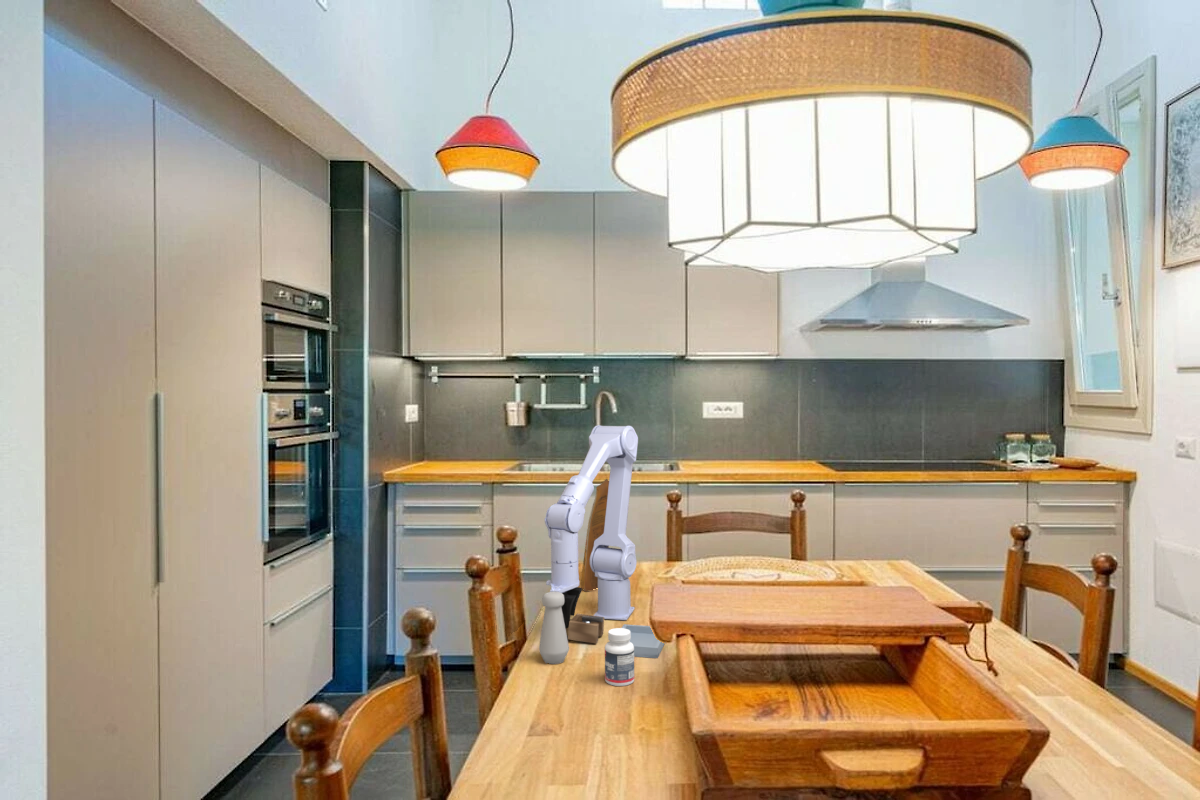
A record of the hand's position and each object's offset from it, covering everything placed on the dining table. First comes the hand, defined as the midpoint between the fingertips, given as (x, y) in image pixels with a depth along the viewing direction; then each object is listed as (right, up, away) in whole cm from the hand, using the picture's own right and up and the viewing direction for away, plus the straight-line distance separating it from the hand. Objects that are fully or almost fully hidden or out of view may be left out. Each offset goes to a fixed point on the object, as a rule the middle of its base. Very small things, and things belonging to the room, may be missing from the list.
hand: (565, 625), depth 152 cm
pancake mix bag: (+7, -3, +44) cm, 44 cm away
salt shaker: (-2, -3, -13) cm, 14 cm away
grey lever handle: (+6, -3, -1) cm, 6 cm away
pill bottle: (+11, -3, -23) cm, 26 cm away
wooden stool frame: (+3, -2, -1) cm, 3 cm away
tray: (+15, -3, -5) cm, 16 cm away
